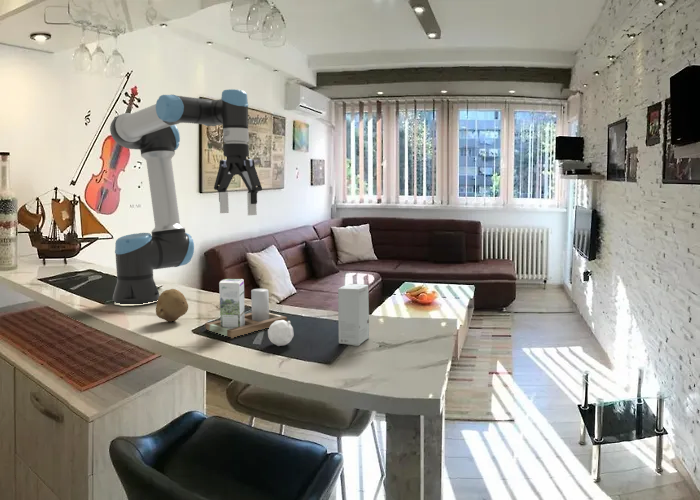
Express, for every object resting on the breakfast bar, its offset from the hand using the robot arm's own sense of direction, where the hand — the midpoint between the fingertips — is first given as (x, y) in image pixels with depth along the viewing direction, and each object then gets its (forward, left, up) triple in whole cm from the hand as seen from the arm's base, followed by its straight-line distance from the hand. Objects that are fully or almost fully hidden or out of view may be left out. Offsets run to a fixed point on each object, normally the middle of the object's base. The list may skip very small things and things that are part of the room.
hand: (237, 214), depth 168 cm
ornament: (+32, -12, -32) cm, 47 cm away
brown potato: (-9, -18, -32) cm, 38 cm away
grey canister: (+12, -2, -32) cm, 34 cm away
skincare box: (+44, +3, -32) cm, 54 cm away
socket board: (+12, -7, -32) cm, 35 cm away
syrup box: (+12, -12, -32) cm, 36 cm away
